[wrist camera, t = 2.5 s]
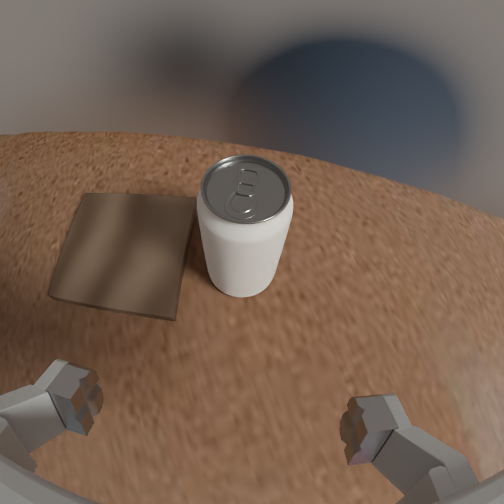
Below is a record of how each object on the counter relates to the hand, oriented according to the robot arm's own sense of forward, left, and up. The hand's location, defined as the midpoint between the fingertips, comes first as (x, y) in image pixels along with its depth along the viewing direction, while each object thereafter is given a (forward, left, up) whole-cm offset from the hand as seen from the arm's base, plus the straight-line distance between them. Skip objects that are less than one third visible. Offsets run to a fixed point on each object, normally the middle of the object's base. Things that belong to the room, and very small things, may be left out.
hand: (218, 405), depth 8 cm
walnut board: (-13, +13, -16) cm, 24 cm away
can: (0, +12, -17) cm, 21 cm away
